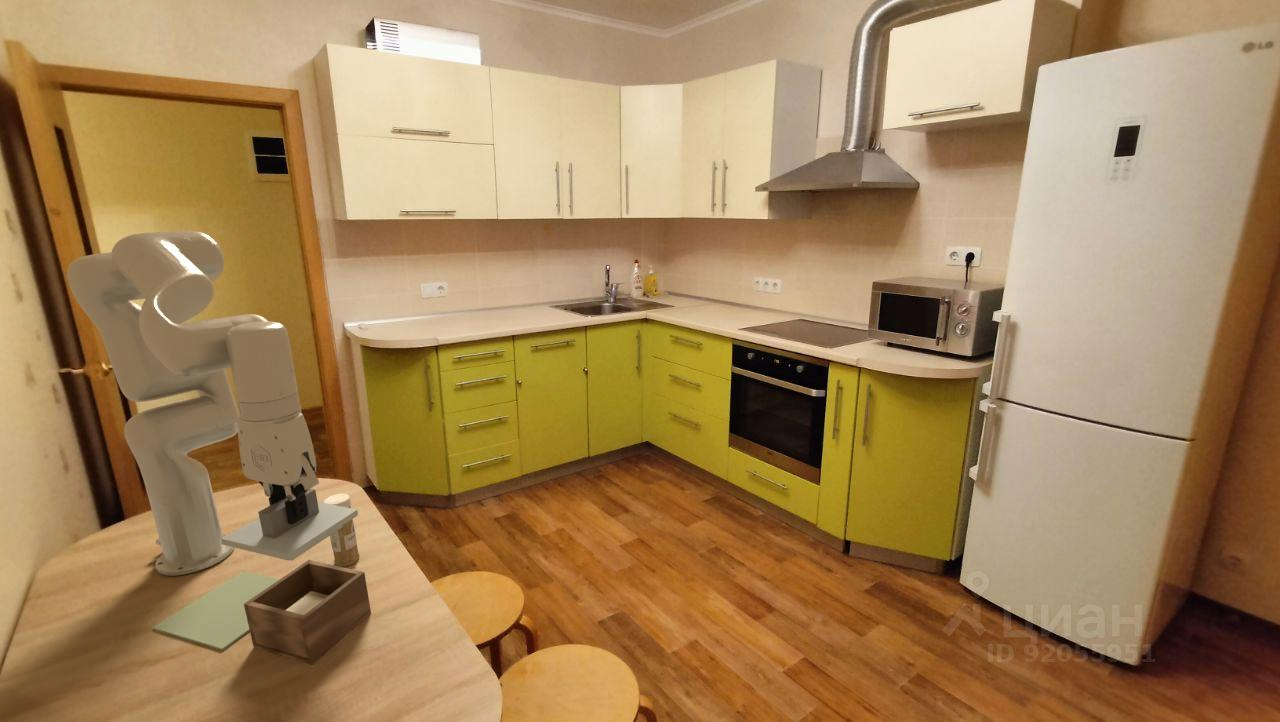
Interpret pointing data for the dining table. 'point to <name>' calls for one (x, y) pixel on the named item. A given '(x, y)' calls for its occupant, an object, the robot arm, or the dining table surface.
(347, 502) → the sprinkles bottle
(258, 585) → the mat
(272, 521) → the lid
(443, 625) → the dining table surface
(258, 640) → the box
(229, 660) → the dining table surface
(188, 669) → the dining table surface
